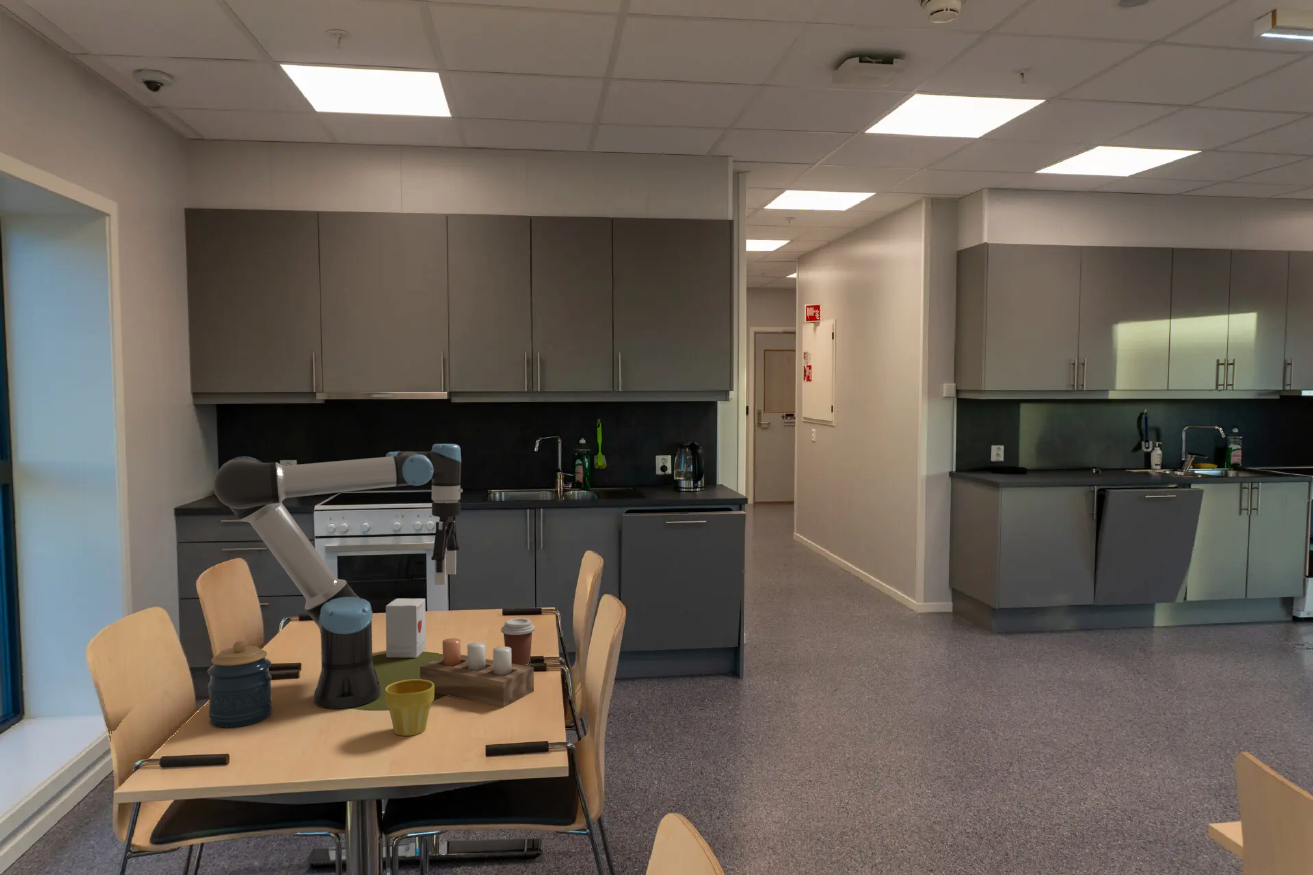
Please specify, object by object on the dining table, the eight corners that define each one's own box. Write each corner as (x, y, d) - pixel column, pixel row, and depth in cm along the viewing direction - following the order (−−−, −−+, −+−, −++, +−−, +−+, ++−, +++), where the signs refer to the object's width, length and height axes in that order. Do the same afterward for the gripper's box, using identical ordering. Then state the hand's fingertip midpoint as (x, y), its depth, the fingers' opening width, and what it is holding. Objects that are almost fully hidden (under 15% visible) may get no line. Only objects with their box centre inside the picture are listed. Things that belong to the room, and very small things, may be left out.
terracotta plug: (452, 671, 204) (452, 644, 204) (439, 669, 206) (438, 641, 206) (464, 666, 208) (464, 639, 208) (451, 664, 210) (450, 637, 210)
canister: (274, 703, 195) (272, 630, 194) (270, 723, 183) (268, 645, 182) (213, 711, 190) (211, 636, 190) (204, 732, 178) (202, 652, 178)
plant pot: (416, 717, 186) (416, 675, 186) (444, 728, 180) (443, 684, 179) (376, 731, 178) (375, 687, 178) (403, 743, 172) (402, 698, 171)
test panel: (503, 707, 192) (503, 681, 192) (420, 689, 204) (419, 666, 204) (533, 691, 203) (533, 667, 203) (452, 675, 215) (452, 652, 215)
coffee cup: (538, 659, 228) (538, 617, 227) (530, 670, 219) (529, 626, 218) (506, 658, 229) (506, 616, 228) (497, 669, 220) (496, 625, 219)
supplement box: (417, 658, 230) (416, 605, 229) (385, 658, 230) (384, 605, 229) (427, 648, 239) (426, 597, 238) (396, 648, 239) (395, 597, 238)
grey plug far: (504, 681, 197) (503, 652, 197) (489, 678, 199) (489, 650, 199) (515, 676, 201) (514, 647, 200) (500, 673, 203) (500, 645, 202)
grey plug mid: (477, 676, 200) (477, 648, 200) (463, 673, 202) (463, 646, 202) (489, 671, 204) (489, 643, 204) (475, 668, 206) (475, 641, 206)
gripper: (450, 506, 208) (449, 589, 209) (468, 496, 233) (468, 570, 234) (420, 506, 208) (420, 588, 209) (442, 496, 233) (441, 569, 234)
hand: (445, 579), depth 221 cm, fingers open, 13 cm apart
